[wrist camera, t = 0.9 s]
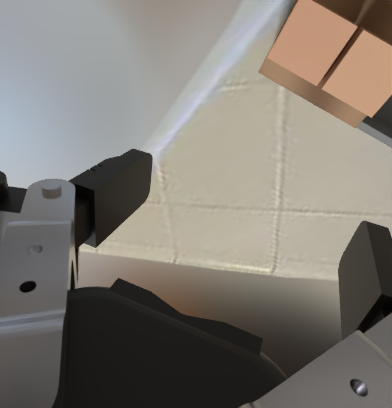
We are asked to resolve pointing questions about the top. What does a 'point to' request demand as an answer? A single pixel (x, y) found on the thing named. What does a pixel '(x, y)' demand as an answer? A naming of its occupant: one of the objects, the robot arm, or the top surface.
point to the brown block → (361, 15)
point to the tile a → (311, 40)
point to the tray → (380, 124)
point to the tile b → (362, 73)
